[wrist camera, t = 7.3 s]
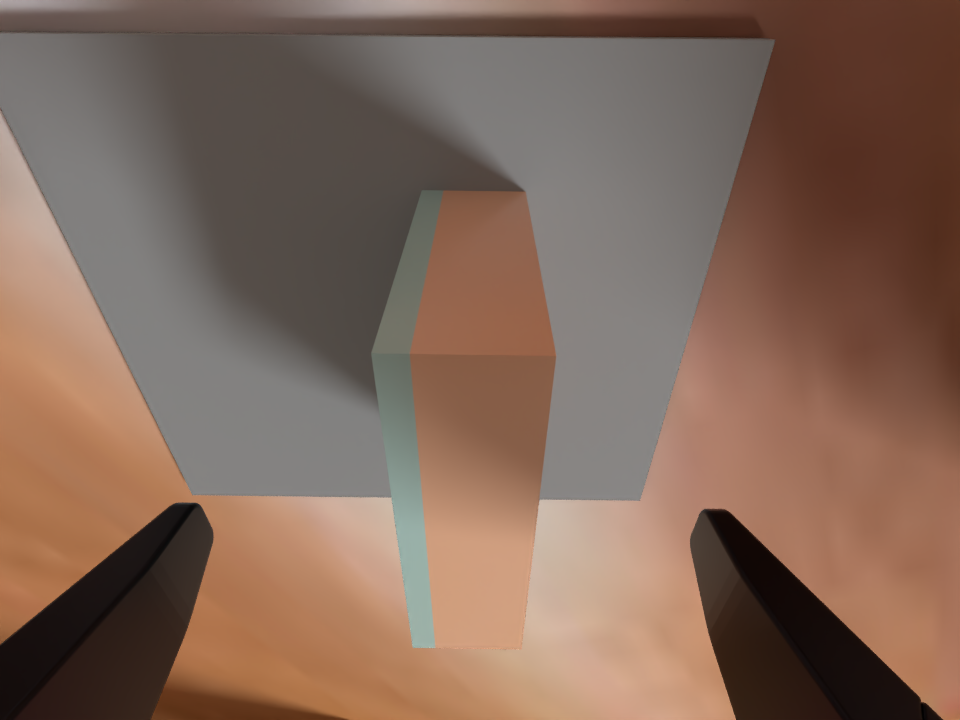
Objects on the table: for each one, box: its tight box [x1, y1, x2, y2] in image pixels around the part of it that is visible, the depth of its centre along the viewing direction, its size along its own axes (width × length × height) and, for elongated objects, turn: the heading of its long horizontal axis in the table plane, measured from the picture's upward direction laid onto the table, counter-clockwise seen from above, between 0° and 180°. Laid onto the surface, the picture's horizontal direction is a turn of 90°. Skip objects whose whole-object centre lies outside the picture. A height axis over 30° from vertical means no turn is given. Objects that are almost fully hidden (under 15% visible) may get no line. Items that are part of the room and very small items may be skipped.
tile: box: [371, 190, 556, 649], centre depth 12 cm, size 2×8×6 cm, turn 0°
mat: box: [0, 32, 775, 501], centre depth 14 cm, size 16×14×1 cm
